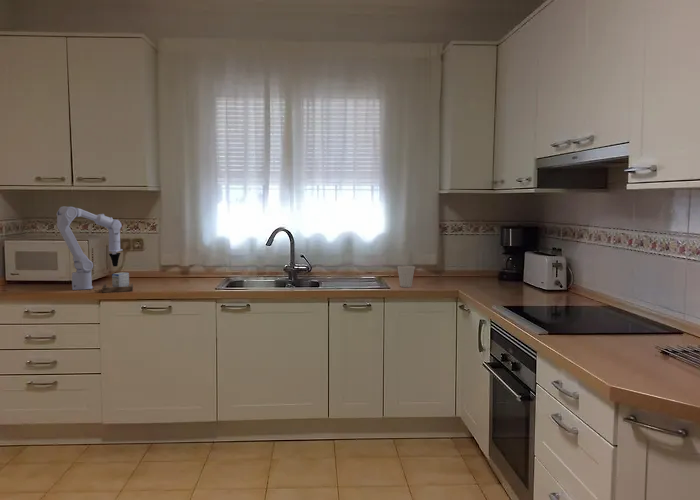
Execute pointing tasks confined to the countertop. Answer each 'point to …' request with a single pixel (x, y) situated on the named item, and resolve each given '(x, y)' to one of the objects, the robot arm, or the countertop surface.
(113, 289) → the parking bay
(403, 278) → the cup
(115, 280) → the medicine box
